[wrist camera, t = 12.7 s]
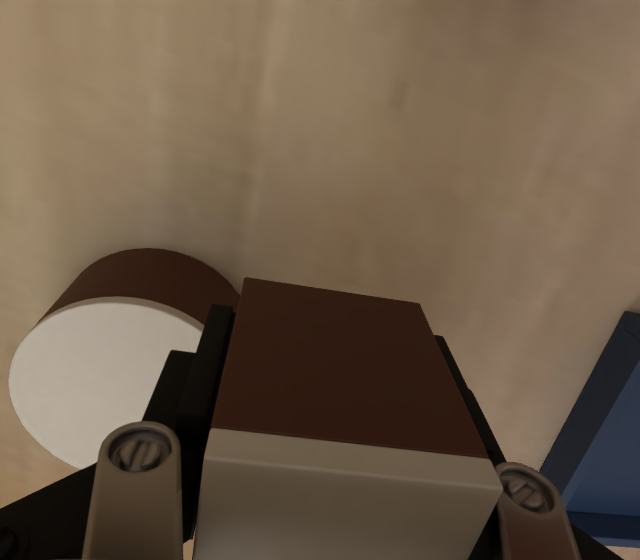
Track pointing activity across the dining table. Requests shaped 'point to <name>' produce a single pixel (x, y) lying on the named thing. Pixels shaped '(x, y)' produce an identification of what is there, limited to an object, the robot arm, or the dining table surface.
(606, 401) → the tray
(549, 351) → the dining table surface
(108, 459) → the robot arm
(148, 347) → the cake
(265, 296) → the cake slice
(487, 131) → the dining table surface
